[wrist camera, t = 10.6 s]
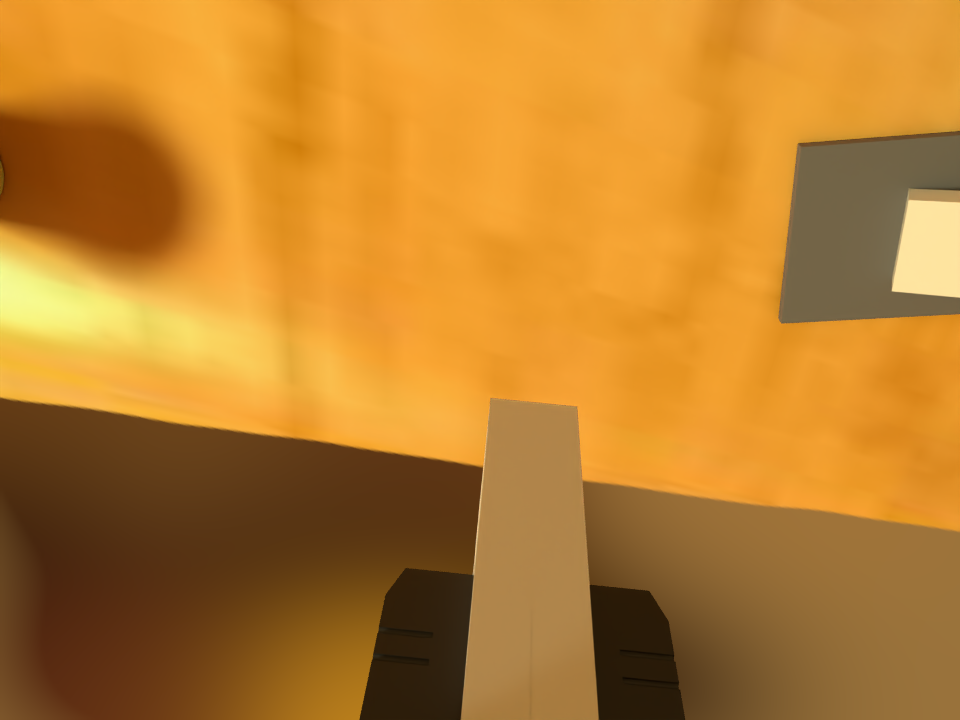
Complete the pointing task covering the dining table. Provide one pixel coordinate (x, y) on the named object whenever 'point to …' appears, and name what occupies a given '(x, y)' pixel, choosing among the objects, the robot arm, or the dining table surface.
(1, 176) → the plant pot
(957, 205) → the domino
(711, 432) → the dining table surface
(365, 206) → the dining table surface
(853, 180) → the mat
